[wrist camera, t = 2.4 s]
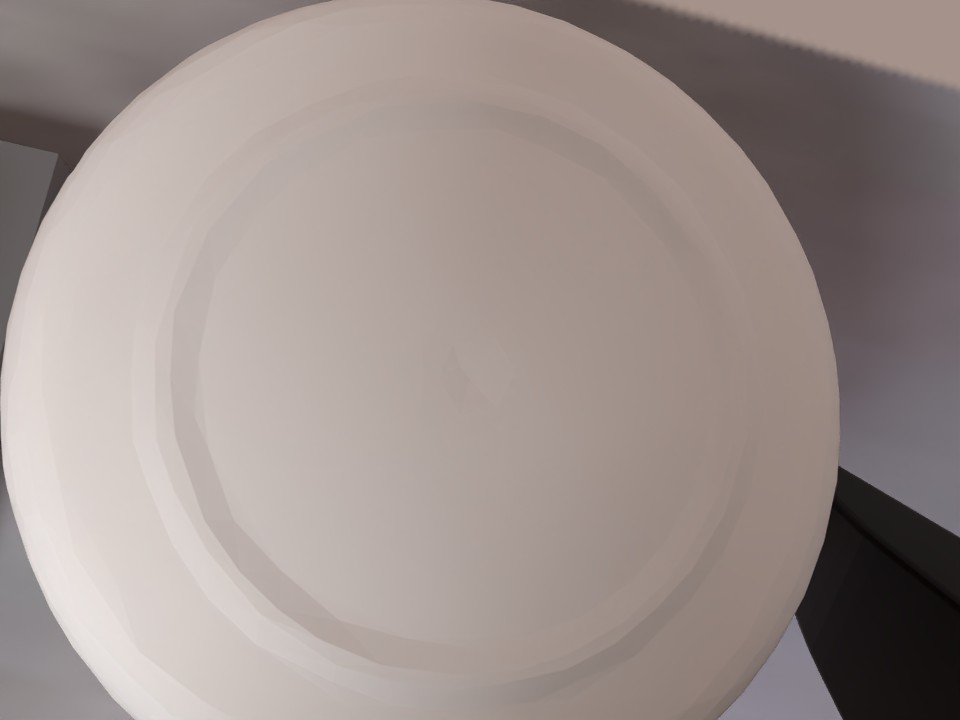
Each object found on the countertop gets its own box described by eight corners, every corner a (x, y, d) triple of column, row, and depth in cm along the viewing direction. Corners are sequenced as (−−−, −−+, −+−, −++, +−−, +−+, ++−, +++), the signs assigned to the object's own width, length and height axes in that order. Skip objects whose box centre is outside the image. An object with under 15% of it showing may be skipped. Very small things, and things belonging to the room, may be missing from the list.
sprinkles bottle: (167, 566, 17) (-236, 690, 4) (260, 340, 18) (205, -183, 5) (401, 644, 17) (766, 986, 4) (477, 421, 18) (948, 153, 5)
